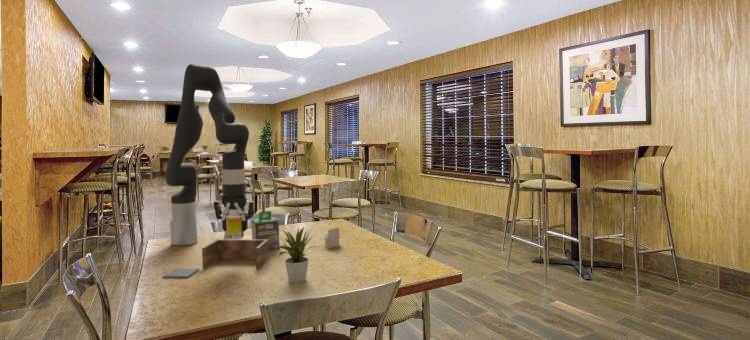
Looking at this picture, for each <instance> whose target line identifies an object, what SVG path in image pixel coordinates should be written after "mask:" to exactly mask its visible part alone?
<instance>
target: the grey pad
mask: <svg viewBox="0 0 750 340" xmlns="http://www.w3.org/2000/svg"><path fill="white" fill-rule="evenodd" d="M199 271H200V268H199V267H198V268H197V267H196V268H193V267H192V268H191V267H190V268H189V267H187V268H185V267H182V268H181V267H179V268H174V269H172V270H170V271H169V272H167V273H166V274H164V275H163V276H162V279H189V278H191V277H192V276H193V275H195V274H196V273H198V272H199Z"/></svg>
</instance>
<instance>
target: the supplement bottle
mask: <svg viewBox="0 0 750 340" xmlns="http://www.w3.org/2000/svg"><path fill="white" fill-rule="evenodd" d="M242 221H243V220H242V218H241V216H240V215H239V213H238V211H237V209H229V214H228V215H227V216H226V228H227V238H228V239H230V240H242V239H243V238H244V236H245V235H244V233H245V231H244V232H242Z"/></svg>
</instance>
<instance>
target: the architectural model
mask: <svg viewBox="0 0 750 340" xmlns="http://www.w3.org/2000/svg"><path fill="white" fill-rule="evenodd" d="M340 238H342V235H340V227H331V228H330V229H328V230H327V234H325V235H324V237H322V239H323V240H324V244H325V245H324V247H325V248H326V249H330V248H335V247H339V246H340Z"/></svg>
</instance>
